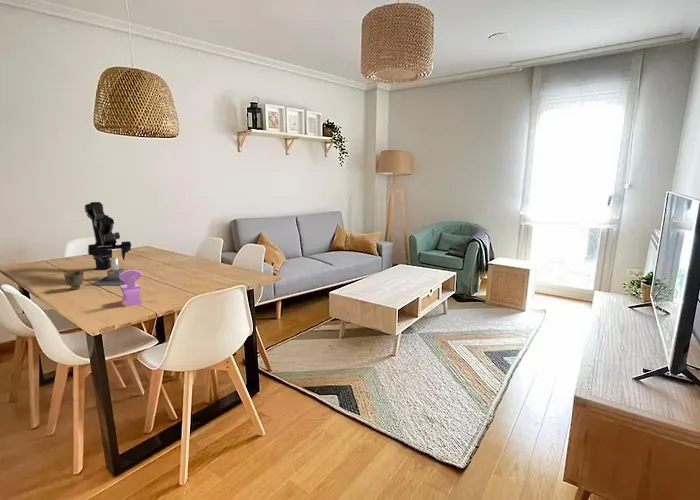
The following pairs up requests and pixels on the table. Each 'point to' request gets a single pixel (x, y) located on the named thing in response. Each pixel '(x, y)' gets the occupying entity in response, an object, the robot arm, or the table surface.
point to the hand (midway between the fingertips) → (113, 260)
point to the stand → (111, 278)
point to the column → (114, 264)
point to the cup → (74, 279)
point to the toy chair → (130, 287)
